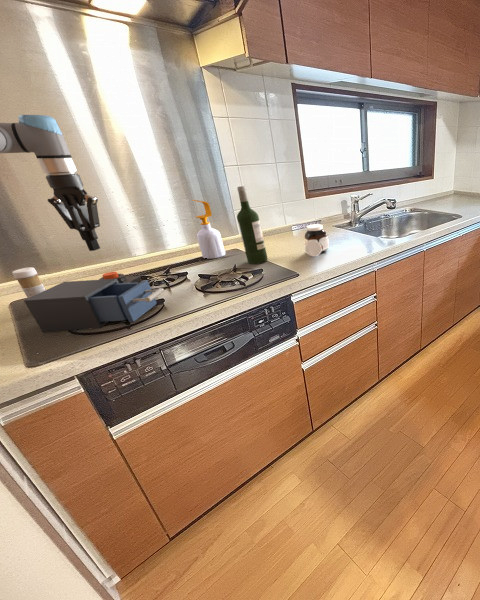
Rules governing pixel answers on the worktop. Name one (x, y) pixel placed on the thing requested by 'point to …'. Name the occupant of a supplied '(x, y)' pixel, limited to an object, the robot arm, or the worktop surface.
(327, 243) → the spread jar
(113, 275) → the button
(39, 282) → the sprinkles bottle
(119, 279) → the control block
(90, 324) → the grey drawer cabinet
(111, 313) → the blue drawer
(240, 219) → the wine bottle
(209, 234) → the soap bottle
